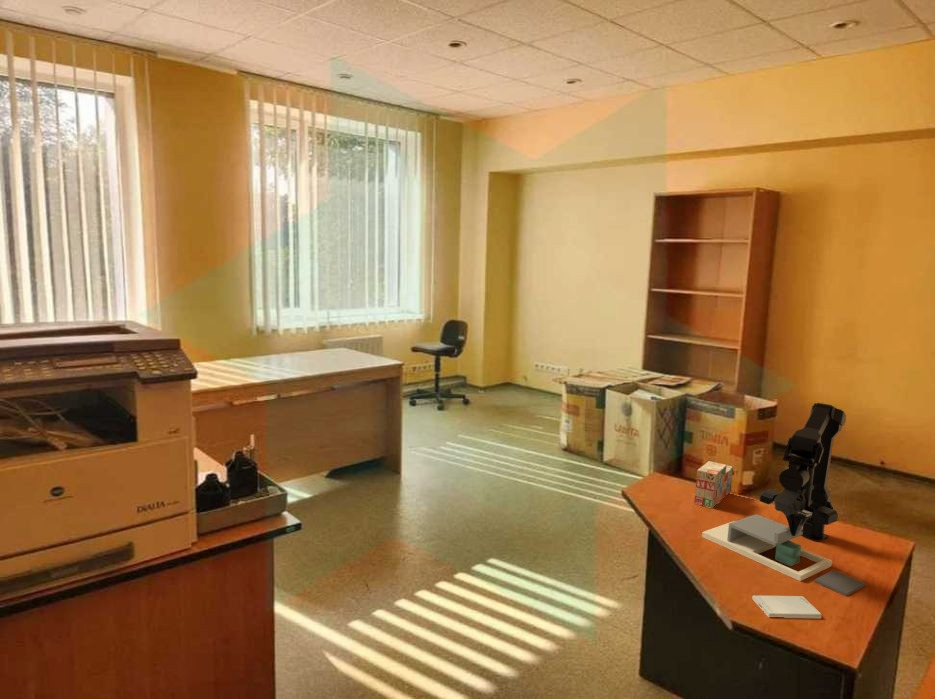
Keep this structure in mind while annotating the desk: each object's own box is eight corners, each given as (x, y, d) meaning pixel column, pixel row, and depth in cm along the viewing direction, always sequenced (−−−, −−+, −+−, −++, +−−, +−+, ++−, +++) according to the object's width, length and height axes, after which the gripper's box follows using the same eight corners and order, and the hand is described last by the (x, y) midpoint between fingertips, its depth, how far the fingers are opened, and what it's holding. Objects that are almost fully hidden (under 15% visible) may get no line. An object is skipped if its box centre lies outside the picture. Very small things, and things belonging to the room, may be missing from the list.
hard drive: (802, 595, 154) (752, 594, 154) (821, 614, 146) (769, 613, 146) (801, 601, 154) (751, 600, 154) (820, 620, 146) (768, 619, 146)
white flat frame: (733, 525, 196) (734, 520, 196) (831, 566, 172) (832, 560, 172) (701, 536, 187) (702, 531, 187) (800, 581, 163) (800, 575, 163)
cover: (754, 530, 189) (757, 506, 188) (800, 549, 178) (803, 524, 177) (727, 540, 182) (729, 515, 180) (773, 560, 170) (776, 534, 169)
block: (783, 555, 177) (785, 539, 176) (799, 562, 174) (801, 545, 173) (774, 559, 175) (776, 542, 174) (790, 566, 171) (792, 549, 170)
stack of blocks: (713, 487, 229) (716, 454, 227) (731, 491, 226) (734, 458, 224) (693, 504, 212) (697, 469, 211) (712, 509, 209) (716, 473, 207)
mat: (833, 572, 169) (833, 569, 169) (865, 585, 162) (865, 583, 162) (813, 581, 163) (814, 579, 163) (846, 596, 157) (846, 593, 157)
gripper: (751, 475, 173) (745, 529, 175) (820, 498, 158) (813, 557, 160) (773, 468, 179) (767, 520, 181) (842, 490, 164) (834, 546, 166)
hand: (793, 535), depth 172 cm, fingers closed
